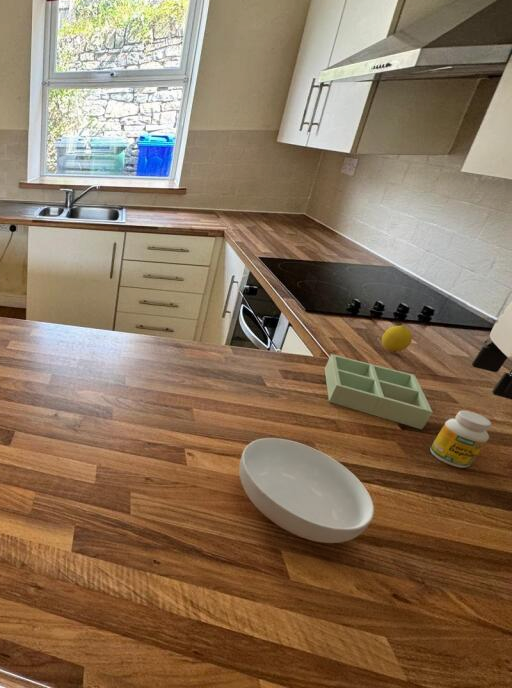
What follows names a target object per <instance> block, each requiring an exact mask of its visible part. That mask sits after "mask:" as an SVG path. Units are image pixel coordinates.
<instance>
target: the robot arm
mask: <svg viewBox="0 0 512 688" xmlns="http://www.w3.org/2000/svg"><path fill="white" fill-rule="evenodd" d="M488 335H489V336H488V338H486V340H484V342H483V346H482V347H481V348H480V350H479V352H478V353H477V355H476V356H475V358H474V360H473V361H472V362H471V366H472V367H473V368H475V369H480V370H484V371H489V372H492V373H498V372H499V371H500V370H501V368H502V366H503V365H504V364H505V362H506V360H507V359H509V360H510V361H511V362H510V367H509V372H504V373H503V375H502V376H501V378H500V379H499V381H498V382H497V384H496V385H495V387H494V388H493V389H492V391H491V393H492V394H493V396H496V397H499V398H505V399H509V400H512V300H511V301H510V302H509V303H508V305H507V306H506V307H505V309H504V310H503V311H502V313H501V314H500V316H499V317H498V318H497V319H496V320H495V322H494V325H493V326H492V329H491V331H489V332H488Z"/></svg>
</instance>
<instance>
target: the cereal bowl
mask: <svg viewBox="0 0 512 688" xmlns="http://www.w3.org/2000/svg"><path fill="white" fill-rule="evenodd" d="M238 468H239V470H238V473H239V480H240V481H241V482H240V484H241V485H242V488H243V490H244V492H245V494H246V495H247V498H248V499H249V500H250V502H251V503H252V504H253V505H254V506H255V507H256V508H257V509H258V511H259V512H260V513H261V514H263V516H264V517H266V518H267V519H268V520H269V521H271V522H272V523H274V524H275V525H277V526H278V527H280V528H281V529H283V530H284V531H286V532H288V533H291V534H293V535H295V536H297V537H300V538H302V539H306V540H308V541H312V542H317V543H323V544H324V543H325V544H339V543H345V542H348V541H351V540H353V539H355V538H357V537H359V536H360V535H361V534H363V533H364V532H365V531H366V530H367V528H368V527H369V526H370V524H371V523H372V521H373V519H374V515H375V506H374V502H373V499H372V496H371V495H370V493H369V491H368V490H367V488H366V487H365V485H364V484H363V483H362V482H361V481H360V479H359V478H358V477H357V476H356V475H355V474H354V473H353V472H352V471H351V470H349V469H348V468H347V467H346V466H345V465H344V464H342V463H341V462H339V461H338V460H336V459H334V458H333V457H331V456H329V455H328V454H326V453H324V452H322V451H321V450H318V449H316V448H314V447H311V446H309V445H307V444H304V443H301V442H297V441H294V440H290V439H285V438H277V437H264V438H259V439H258V438H257V439H255V440H253V441H251V442H249V444H247V445H246V446H245V447H244V449H243V451H242V453H241V457H240V461H239V466H238Z"/></svg>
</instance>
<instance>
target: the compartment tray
mask: <svg viewBox="0 0 512 688" xmlns="http://www.w3.org/2000/svg"><path fill="white" fill-rule="evenodd" d="M324 375H325V383H326V389H327V390H326V391H327V397H328V402H329V403H332V404H335V405H339V406H341V407H345V408H348V409H351V410H355V411H358V412H362V413H365V414H369V415H372V416H375V417H379V418H382V419H384V420H388V421H392V422H395V423H398V424H401V425H406V426H408V427H412V428H415V429H418V430H423V429H424V427H425V425H426V424H427V422H428V421H429V419H430V418H431V416H432V415H433V413H434V412H433V410H432V408H431V405H430V403H429V402H428V399H427V397H426V395H425V393H424V391H423V389H422V386H421V385H420V383H419V381H418V379H417V377H416V375H415V374H412V373H408V372H405V371H400V370H397V369H393V368H388V367H385V366H381V365H376V364H373V363H369V362H365V361H360V360H356V359H353V358H349V357H346V356H345V357H344V356H341V355H336V354H333V353H330V356H329V358H328V360H327V363H326V365H325V367H324Z"/></svg>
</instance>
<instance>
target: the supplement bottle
mask: <svg viewBox="0 0 512 688" xmlns="http://www.w3.org/2000/svg"><path fill="white" fill-rule="evenodd" d="M491 426H492V422H491V420H489V419H488V418H486V417H485V416H483V415H481V414H479V413H476V412H473V411H471V410H459V411H458V412H457V414H456V415H455V418H450V419H447V420H446V421H445V423H444V424H443V426H442V427H441V429H440V431H439V433H438V434H437V436H436V437H435V439H434V441H433V443H432V444H431V446H430V448H429V451H430V453H431V455H432V456H433V457H435V458H436V459H438V460H439V461H441V462H443V463H444V464H447V465H450V466H451V467H454V468H459V469H461V468H462V469H463V468H467V467H470V466H471V464H472V463H473V462H474V460H475V459H476V458H477V456H478V455H479V454H480V452H481V450H482V449H483V448H484V446H485V445H486V443H487V442H488V440H489V438H490V435H489V433H488V430H489V429H490V427H491Z"/></svg>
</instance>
